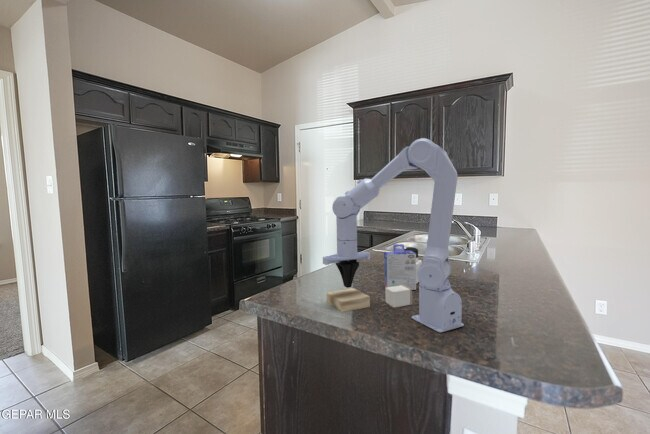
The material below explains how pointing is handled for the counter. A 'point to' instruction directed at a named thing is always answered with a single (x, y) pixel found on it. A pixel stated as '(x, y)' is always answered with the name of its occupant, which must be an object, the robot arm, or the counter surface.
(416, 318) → the robot arm
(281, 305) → the counter surface
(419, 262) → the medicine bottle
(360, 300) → the maple block
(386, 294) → the off-white cardboard box
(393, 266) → the ink cartridge box
